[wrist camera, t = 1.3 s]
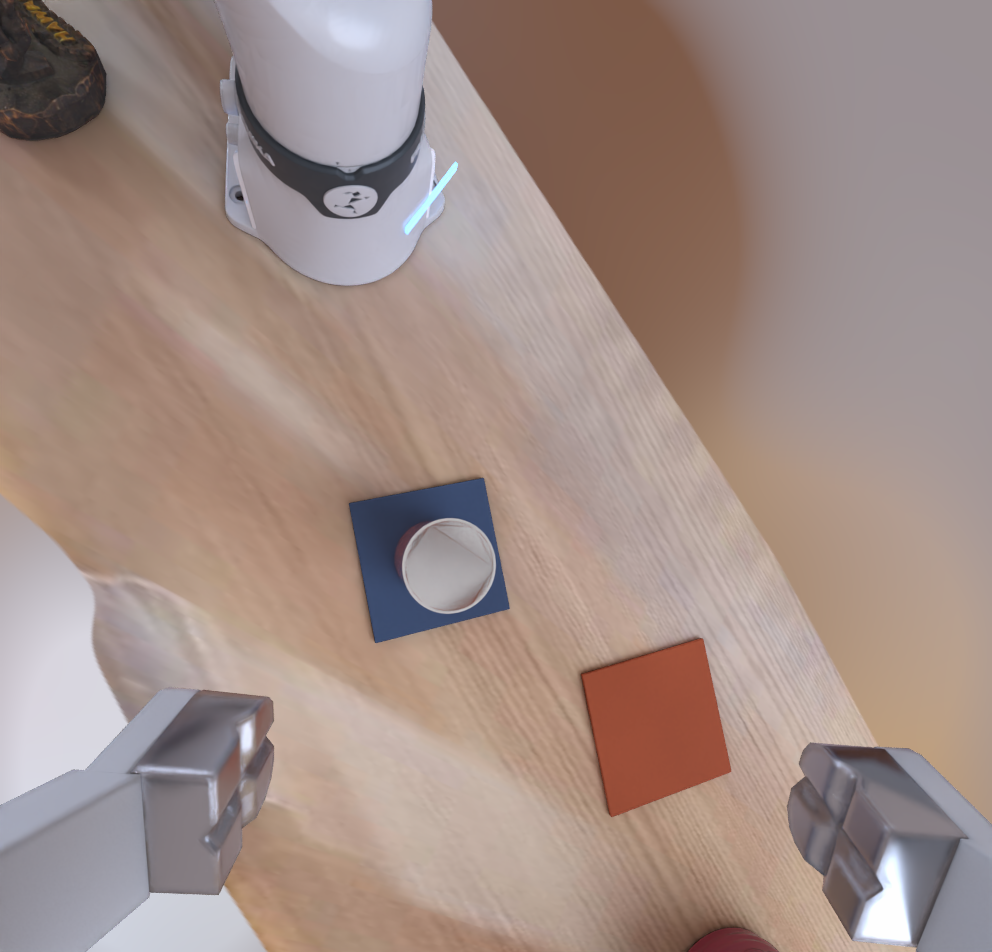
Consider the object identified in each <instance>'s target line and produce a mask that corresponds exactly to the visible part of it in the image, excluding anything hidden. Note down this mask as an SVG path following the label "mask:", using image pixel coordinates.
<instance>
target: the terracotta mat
mask: <svg viewBox="0 0 992 952" xmlns="http://www.w3.org/2000/svg"><path fill="white" fill-rule="evenodd" d="M581 676H582V681H583V686H584V691H585V696H586V701H587V706H588V711H589V716H590V720H591V725H592V730H593V735H594V740H595V745H596V750H597V755H598V760H599V765H600V770H601V774H602V779H603V784H604V789H605V794H606V799H607V804H608V809H609V814H610V816H611V817H613V816H616V815H619V814H621V813H624V812H627V811H629V810H632V809H635V808H637V807H640V806H642V805H645V804H648V803H650V802H653V801H656V800H658V799H661V798H664V797H666V796H669V795H671V794H674V793H677V792H679V791H682V790H685V789H687V788H690V787H693V786H695V785H698V784H700V783H703V782H706V781H708V780H711V779H714V778H716V777H719V776H721V775H724V774H727V773H729V772H731V767H730V763H729V758H728V753H727V749H726V744H725V739H724V734H723V730H722V725H721V720H720V716H719V711H718V706H717V702H716V697H715V692H714V688H713V683H712V678H711V674H710V669H709V664H708V659H707V655H706V650H705V645H704V641H703V639H702V638H700V639H697V640H693V641H690V642H687V643H683V644H680V645H677V646H673V647H670V648H667V649H663V650H660V651H657V652H653V653H650V654H647V655H643V656H640V657H637V658H633V659H630V660H627V661H623V662H620V663H617V664H613V665H610V666H607V667H603V668H600V669H597V670H593V671H590V672H587V673H583V674H581Z"/></svg>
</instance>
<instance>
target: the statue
mask: <svg viewBox="0 0 992 952" xmlns="http://www.w3.org/2000/svg"><path fill="white" fill-rule="evenodd" d="M105 96H106V72H105V70H104V68H103V65H102V63H101V61H100V58H99V56H98V54H97V51H96V49H95V48H94V46H93V45H92V44H91V43H90V42H89V41H88V40H87V39H86V38H85V37H83V35H82V34H81V33H80V32H79V31H75V30H74V28H73V27H72V26H71V25H70V24H67V23H66V22H65V20H63V19H62V18H61V17H58V16H57V15H56V13H54V12H53V11H51V10H49V9H48V8H47V6H46V5H45V4H44V3H43V1H42V0H0V131H2V132H3V133H4V134H6V135H7V136H9V137H12V138H16V139H22V140H42V139H48V138H57V137H60V136H62V135H65V134H67V133H70V132H72V131H74V130H76V129H78V128H79V127H81V126H83V125H84V124H86V123H87V122H89V121H91V120H92V119H94V118H95V117H96V116H97V115H98V114H99V113H100V111H101V110H102V108H103V105H104V102H105Z"/></svg>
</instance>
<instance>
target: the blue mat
mask: <svg viewBox="0 0 992 952" xmlns="http://www.w3.org/2000/svg"><path fill="white" fill-rule="evenodd" d="M349 506H350V512H351V517H352V522H353V528H354V533H355V538H356V544H357V549H358V554H359V559H360V565H361V570H362V575H363V581H364V586H365V591H366V596H367V602H368V607H369V612H370V618H371V623H372V628H373V634H374V639H375V643H378V642H382V641H386V640H390V639H394V638H398V637H402V636H405V635H409V634H413V633H417V632H421V631H425V630H429V629H433V628H437V627H441V626H444V625H448V624H452V623H456V622H460V621H464V620H468V619H472V618H476V617H480V616H483V615H487V614H491V613H495V612H499V611H503V610H507V609H510V607H509V602H508V597H507V592H506V587H505V582H504V577H503V572H502V567H501V562H500V557H499V552H498V547H497V542H496V537H495V532H494V527H493V522H492V517H491V512H490V507H489V502H488V497H487V492H486V487H485V482H484V478H480V479H475V480H470V481H464V482H459V483H454V484H448V485H443V486H438V487H433V488H427V489H422V490H417V491H411V492H406V493H401V494H396V495H390V496H385V497H380V498H374V499H369V500H364V501H359V502H353V503H349ZM444 518H456V519H461V520H465V521H467V522H470V523H472V524H473V525H475V526H476V527H478V528H479V529H480V530H481V531H482V532H483V533H484V534H485V535H486V536H487V538H488V539H489V541H490V543H491V545H492V547H493V550H494V553H495V559H496V570H495V576H494V580H493V582H492V585H491V587H490V589H489V591H488V592H487V594H486V595H485V596H484V597H483V598H482V600H481V601H479V602H478V603H477V604H476V605H474V606H473V607H471V608H469V609H467V610H465V611H462V612H458V613H453V614H444V613H438V612H434V611H431V610H429V609H427V608H425V607H423V606H422V605H421V604H419V603H418V602H417V601H416V600H415V599H414V598H413V597H412V595H411V594H410V593H409V591H408V589H407V588H406V585H405V584H404V583H403V582H402V580H401V579H400V577H399V575H398V573H397V571H396V567H395V550H396V547H397V544H398V542H399V540H400V538H401V537H402V536H403V534H404V533H405V532H406V531H407V530H408V529H410V528H411V527H412V526H414V525H416V524H418V523H421V522H425V521H434V520H438V519H444Z"/></svg>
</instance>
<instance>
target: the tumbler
mask: <svg viewBox="0 0 992 952" xmlns="http://www.w3.org/2000/svg"><path fill="white" fill-rule="evenodd" d="M395 567H396V571H397V573H398V575H399V577H400V579H401V580H402V582H403V583H404V584H405V585H406V588H407V589H408V591H409V593H410V594H411V595H412V597H413V598H414V599H415V600H416V601H417V602H418V603H419V604H421V605H422V606H423V607H425V608H427V609H429V610H431V611H434V612H438V613H444V614H453V613H458V612H462V611H465V610H467V609H469V608H471V607H473V606H474V605H476V604H477V603H478V602H479V601H481V600H482V598H483V597H484V596H485V595H486V594H487V592H488V591H489V589H490V587H491V585H492V582H493V580H494V576H495V570H496V559H495V553H494V550H493V547H492V545H491V543H490V541H489V539H488V538H487V536H486V535H485V534H484V533H483V532H482V531H481V530H480V529H479V528H478V527H476V526H475V525H473V524H472V523H470V522H467V521H465V520H461V519H456V518H444V519H438V520H434V521H425V522H421V523H418V524H416V525H414V526H412V527H411V528H410V529H408V530H407V531H406V532H405V533H404V534H403V536H402V537H401V538H400V540H399V542H398V544H397V547H396V550H395Z"/></svg>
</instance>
